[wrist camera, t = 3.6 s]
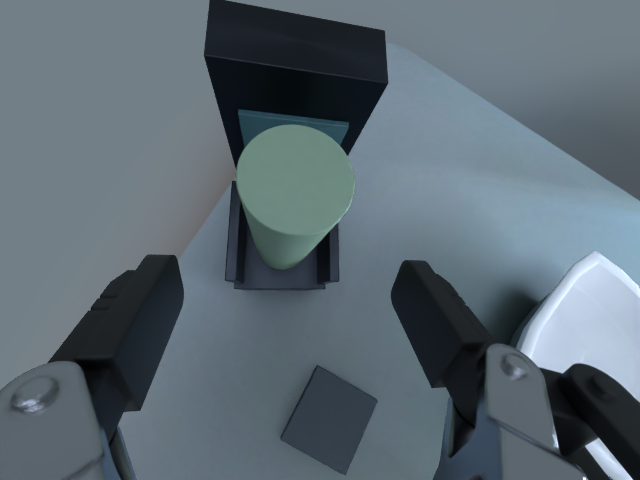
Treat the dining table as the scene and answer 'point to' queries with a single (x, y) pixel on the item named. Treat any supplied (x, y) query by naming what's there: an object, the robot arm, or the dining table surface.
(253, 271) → the navy chair block
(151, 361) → the robot arm
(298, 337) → the dining table surface
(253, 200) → the green cylinder
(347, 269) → the dining table surface
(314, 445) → the coaster
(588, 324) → the bowl
